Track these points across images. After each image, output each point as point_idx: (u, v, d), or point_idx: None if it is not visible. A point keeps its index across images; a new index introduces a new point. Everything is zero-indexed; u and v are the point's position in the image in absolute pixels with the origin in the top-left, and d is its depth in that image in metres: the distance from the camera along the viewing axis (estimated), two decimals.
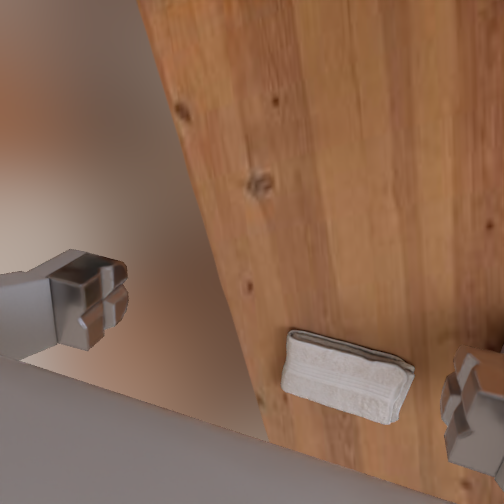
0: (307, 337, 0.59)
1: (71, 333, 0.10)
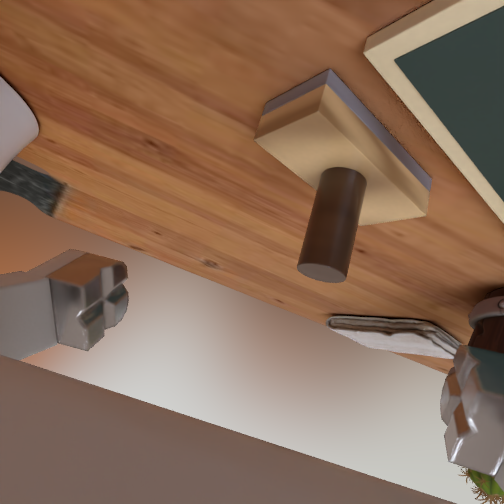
0: (341, 320, 0.66)
1: (71, 333, 0.10)
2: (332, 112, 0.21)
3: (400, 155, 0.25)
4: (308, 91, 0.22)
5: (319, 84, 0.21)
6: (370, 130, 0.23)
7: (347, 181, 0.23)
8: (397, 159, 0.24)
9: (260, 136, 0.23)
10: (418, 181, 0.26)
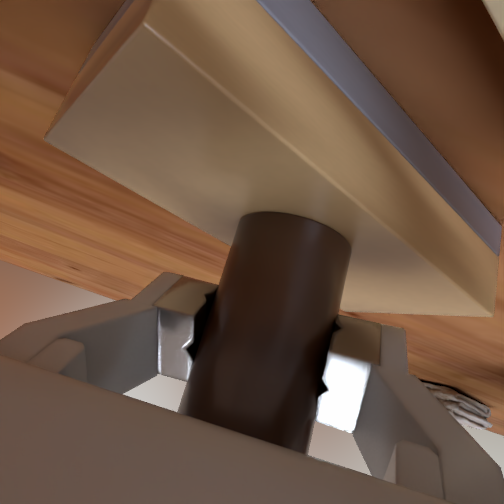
0: None
1: (174, 364, 0.09)
2: (213, 38, 0.06)
3: (437, 177, 0.10)
4: None
5: None
6: (359, 111, 0.08)
7: (295, 254, 0.08)
8: (431, 188, 0.09)
9: (51, 129, 0.08)
10: (477, 236, 0.11)
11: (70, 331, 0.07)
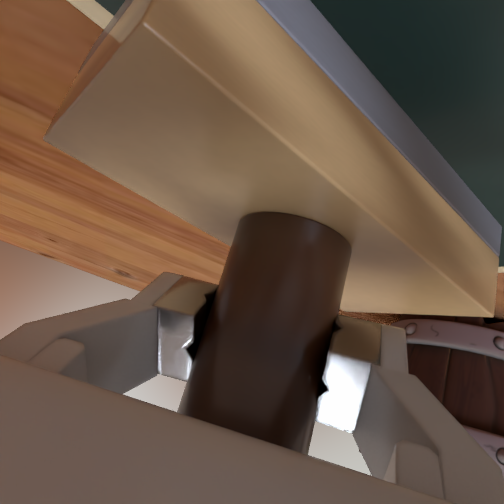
0: None
1: (175, 364, 0.09)
2: (214, 38, 0.06)
3: (438, 177, 0.10)
4: None
5: None
6: (359, 110, 0.08)
7: (295, 254, 0.08)
8: (431, 188, 0.09)
9: (50, 128, 0.08)
10: (476, 236, 0.11)
11: (70, 331, 0.07)
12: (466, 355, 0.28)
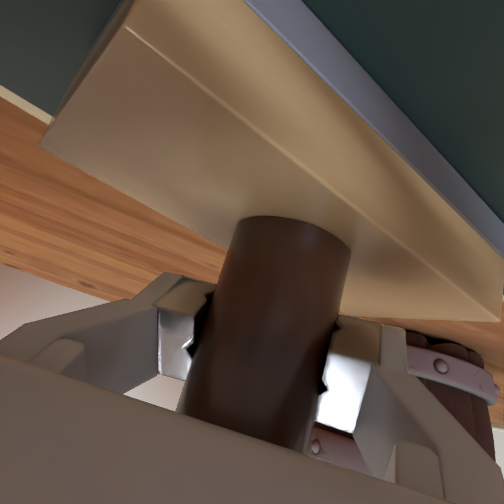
0: None
1: (175, 364, 0.09)
2: (199, 40, 0.06)
3: (439, 179, 0.09)
4: None
5: None
6: (354, 111, 0.08)
7: (291, 259, 0.08)
8: (431, 190, 0.09)
9: (44, 135, 0.08)
10: (481, 239, 0.11)
11: (70, 331, 0.07)
12: None
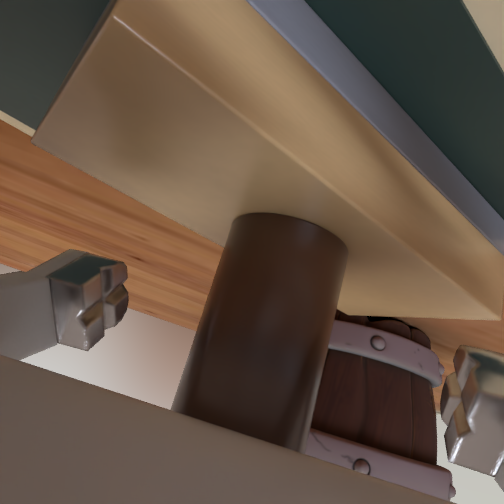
0: None
1: (71, 333, 0.10)
2: (190, 30, 0.05)
3: (438, 175, 0.09)
4: None
5: None
6: (352, 106, 0.08)
7: (287, 256, 0.08)
8: (431, 186, 0.09)
9: (36, 131, 0.08)
10: (481, 236, 0.11)
11: None
12: (342, 356, 0.26)
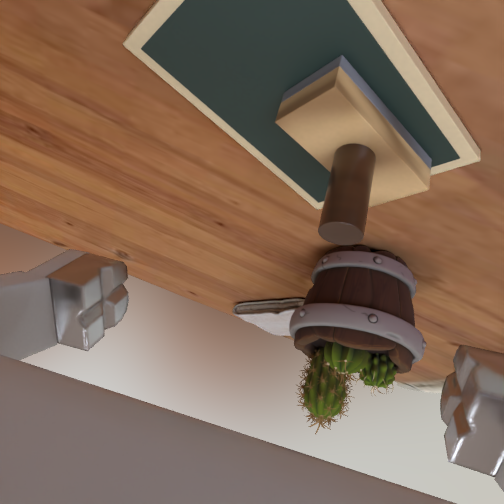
0: (244, 307, 0.74)
1: (71, 333, 0.10)
2: (345, 89, 0.24)
3: (403, 134, 0.28)
4: (323, 75, 0.25)
5: (333, 67, 0.25)
6: (377, 109, 0.26)
7: (359, 154, 0.27)
8: (401, 137, 0.28)
9: (281, 117, 0.27)
10: (420, 159, 0.29)
11: None
12: (357, 269, 0.44)
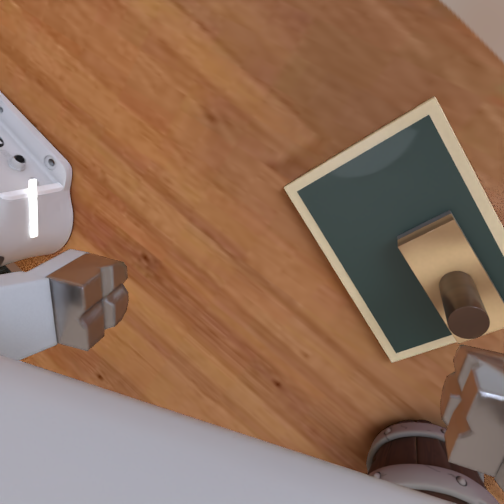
0: None
1: (71, 333, 0.10)
2: (458, 226, 0.34)
3: (489, 277, 0.37)
4: (437, 219, 0.36)
5: (445, 215, 0.36)
6: (473, 251, 0.36)
7: (466, 276, 0.34)
8: (489, 277, 0.36)
9: (404, 243, 0.36)
10: None
11: None
12: (426, 438, 0.43)
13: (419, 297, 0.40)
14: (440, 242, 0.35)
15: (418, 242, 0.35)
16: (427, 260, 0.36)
